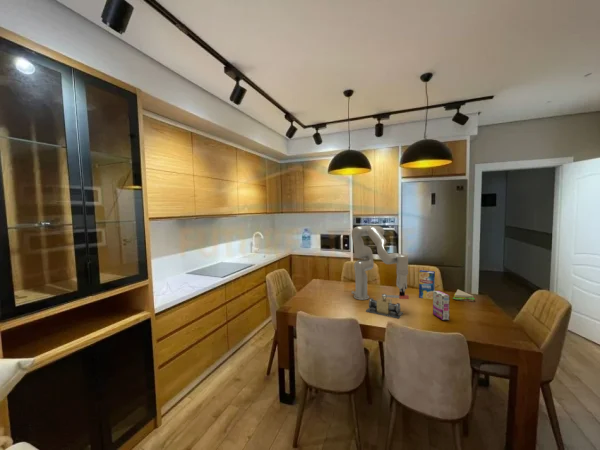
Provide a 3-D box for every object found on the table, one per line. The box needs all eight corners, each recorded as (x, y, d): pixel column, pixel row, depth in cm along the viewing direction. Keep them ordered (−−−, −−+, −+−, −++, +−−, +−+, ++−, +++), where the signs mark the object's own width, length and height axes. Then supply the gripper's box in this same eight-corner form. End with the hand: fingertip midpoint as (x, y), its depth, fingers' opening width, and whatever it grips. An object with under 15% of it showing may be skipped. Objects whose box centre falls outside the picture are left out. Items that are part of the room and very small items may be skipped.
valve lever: (382, 297, 183) (382, 295, 183) (381, 296, 186) (381, 293, 186) (408, 299, 179) (408, 296, 179) (407, 297, 182) (407, 294, 182)
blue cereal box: (433, 300, 207) (434, 273, 206) (418, 298, 213) (418, 271, 212) (434, 298, 213) (435, 271, 212) (420, 295, 219) (420, 270, 218)
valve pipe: (365, 311, 187) (365, 297, 186) (371, 306, 196) (371, 293, 195) (398, 318, 173) (398, 303, 173) (403, 313, 182) (403, 298, 182)
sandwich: (472, 296, 215) (472, 290, 215) (475, 304, 198) (475, 297, 198) (451, 294, 223) (451, 288, 223) (452, 301, 206) (452, 295, 205)
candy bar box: (449, 320, 170) (450, 295, 169) (442, 320, 169) (442, 295, 168) (439, 313, 181) (439, 290, 180) (432, 313, 180) (432, 290, 180)
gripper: (394, 269, 191) (393, 294, 192) (399, 274, 177) (399, 301, 178) (404, 269, 191) (404, 294, 192) (411, 274, 176) (410, 301, 177)
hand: (402, 297), depth 185 cm, fingers closed
